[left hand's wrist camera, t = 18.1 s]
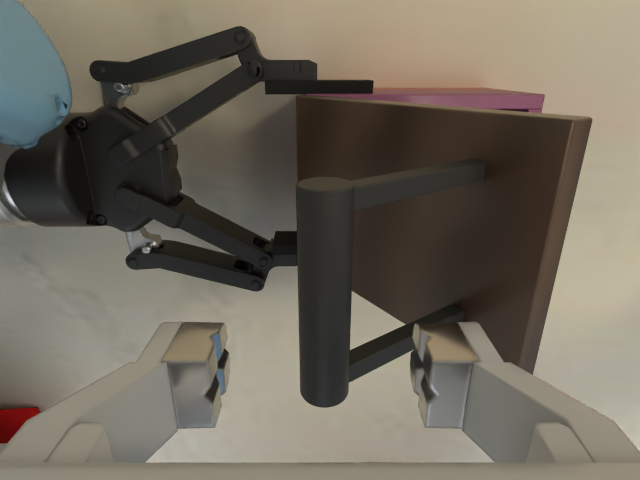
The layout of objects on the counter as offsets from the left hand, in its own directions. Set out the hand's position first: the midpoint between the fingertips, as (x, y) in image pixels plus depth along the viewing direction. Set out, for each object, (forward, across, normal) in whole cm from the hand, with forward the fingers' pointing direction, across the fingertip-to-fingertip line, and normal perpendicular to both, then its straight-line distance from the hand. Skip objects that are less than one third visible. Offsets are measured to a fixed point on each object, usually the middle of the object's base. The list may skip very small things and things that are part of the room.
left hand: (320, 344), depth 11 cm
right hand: (+20, +3, 0) cm, 20 cm away
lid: (+11, +4, 0) cm, 11 cm away
